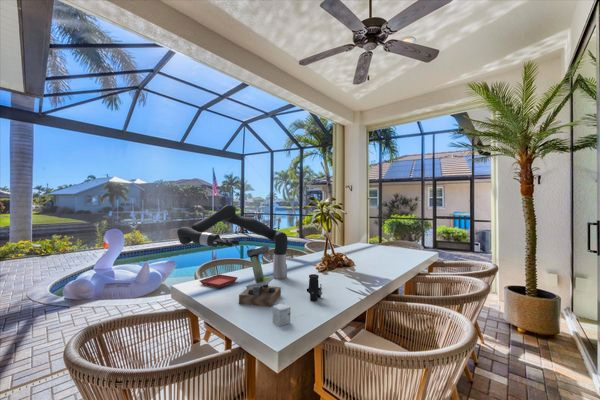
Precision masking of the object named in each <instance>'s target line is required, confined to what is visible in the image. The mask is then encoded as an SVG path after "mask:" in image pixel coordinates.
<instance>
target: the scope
mask: <svg viewBox="0 0 600 400" xmlns="http://www.w3.org/2000/svg"><path fill="white" fill-rule="evenodd" d="M308 278H309V279H308V287H307V288H306V293H308V294H309V302H312V303H313V302H314V303H315V302H318V299H321V297H322V295H323V291H322V290H323V288H322V283H320V284H319V275H318V274H313V273H312V274H308ZM319 285H320V286H319Z"/></svg>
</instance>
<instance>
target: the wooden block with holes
mask: <svg viewBox="0 0 600 400" xmlns="http://www.w3.org/2000/svg"><path fill="white" fill-rule="evenodd" d="M281 293H282V287H281V286H274V285H273V286H271V285H269V283H268V284H267V285H263V286H262V287H261V288H259V287H253V288H248V289H247V288H246V289H244V290H243V291H242V292H240V293H239V294H238V305H245V306H253V307H255V306H256V307H263V308H264V307H265V308H273V306H274V304H275V303H276V302H277V301H278V300H279V298H280V297H281V295H282V294H281Z"/></svg>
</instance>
